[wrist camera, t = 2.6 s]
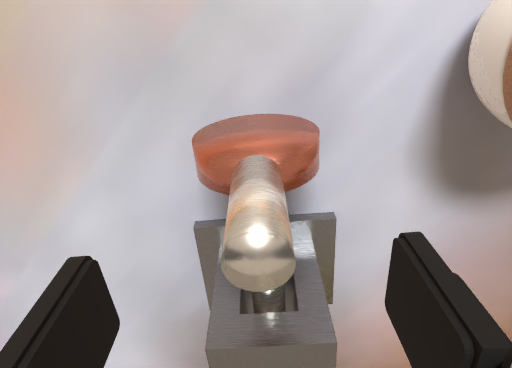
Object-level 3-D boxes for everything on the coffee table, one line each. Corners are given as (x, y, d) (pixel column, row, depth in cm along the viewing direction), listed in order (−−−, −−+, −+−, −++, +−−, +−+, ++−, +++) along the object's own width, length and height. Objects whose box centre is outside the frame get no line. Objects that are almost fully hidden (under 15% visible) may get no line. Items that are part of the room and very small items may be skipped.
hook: (200, 115, 22) (141, 241, 10) (309, 107, 22) (371, 227, 10) (233, 322, 31) (221, 509, 20) (309, 318, 31) (341, 504, 19)
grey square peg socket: (195, 221, 29) (166, 329, 20) (333, 212, 29) (373, 318, 19) (211, 302, 34) (194, 422, 24) (330, 295, 34) (360, 414, 24)
